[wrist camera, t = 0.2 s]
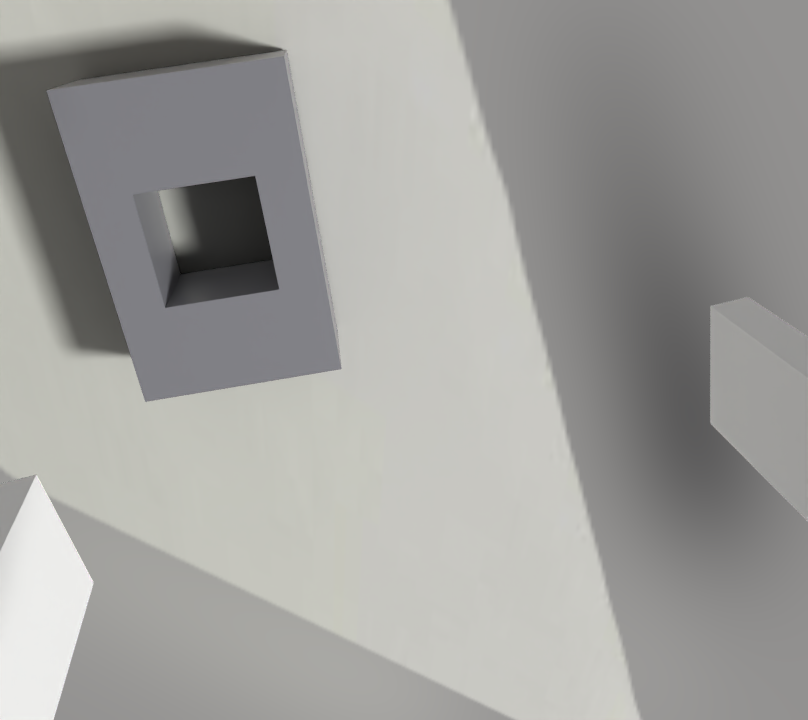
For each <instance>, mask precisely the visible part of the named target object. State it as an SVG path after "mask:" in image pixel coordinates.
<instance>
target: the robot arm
mask: <svg viewBox="0 0 808 720" xmlns="http://www.w3.org/2000/svg"><path fill="white" fill-rule="evenodd" d="M710 325H711V326H710V336H711V337H710V423H711V424H712V426H713V427H714V428H715V429H717V431H718V432H719V433H720V434H721V435H722V436H723V437H724V438H725V439H726V440H727V441H728V442H729V443H730V444H731V445H732V446H733V447H734V448H735V449H736V450H737V451H738V452H739V453H740V454H741V455H742V456H743V457H744V458H745V459H746V460H747V461H748V462H749V463H750V464H751V465H752V466H753V467H754V468H755V469H756V470H757V471H758V472H759V473H760V474H761V475H762V476H763V477H764V478H765V479H766V480H767V481H768V482H769V483H770V484H771V485H772V486H773V487H774V488H775V489H776V490H777V491H778V492H779V493H780V494H781V495H782V496H783V497H784V498H785V499H786V500H787V501H788V502H789V503H790V504H791V505H792V506H793V507H794V508H795V509H796V510H797V511H798V512H799V513H800V514H801V515H802V516H803V517H804V518H805V519H806V520H807V521H808V337H807V336H806V335H805V334H803V333H802V332H800V331H799V330H797V329H796V328H794V327H793V326H791V325H790V324H788V323H787V322H785V321H784V320H782V319H781V318H779V317H778V316H776V315H775V314H773V313H771V312H770V311H769V310H767V309H765V308H764V307H763V306H761V305H760V304H758V303H757V302H755V301H753V300H752V299H751V298H749V297H745V298H741V299H737V300H733V301H729V302H725V303H721V304H717V305H713V306H711V307H710ZM93 583H94V582H93V581H92V579H91V577H90V575H89V573H88V571H87V569H86V567H85V565H84V563H83V562H82V560H81V558H80V556H79V554H78V552H77V551H76V548H75V547H74V545H73V543H72V541H71V539H70V537H69V535H68V534H67V532H66V530H65V528H64V526H63V524H62V522H61V520H60V518H59V516H58V514H57V512H56V511H55V509H54V507H53V505H52V503H51V501H50V499H49V497H48V495H47V494H46V492H45V490H44V488H43V486H42V484H41V482H40V480H39V478H38V477H37V475H33V476H29V477H25V478H21V479H17V480H13V481H9V482H5V483H1V484H0V720H54V716H55V713H56V709H57V706H58V703H59V699H60V696H61V692H62V689H63V686H64V682H65V678H66V675H67V672H68V668H69V665H70V661H71V658H72V655H73V651H74V648H75V645H76V641H77V638H78V634H79V631H80V627H81V624H82V620H83V617H84V614H85V610H86V607H87V604H88V600H89V597H90V593H91V590H92V586H93Z"/></svg>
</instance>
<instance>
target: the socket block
mask: <svg viewBox="0 0 808 720" xmlns="http://www.w3.org/2000/svg"><path fill="white" fill-rule="evenodd" d="M46 91H47V95H48V98H49V101H50V104H51V107H52V110H53V113H54V117H55V120H56V123H57V126H58V129H59V132H60V135H61V138H62V142H63V145H64V148H65V151H66V154H67V157H68V160H69V164H70V167H71V170H72V173H73V176H74V179H75V182H76V186H77V189H78V192H79V195H80V198H81V201H82V204H83V208H84V211H85V214H86V217H87V220H88V223H89V226H90V229H91V233H92V236H93V239H94V242H95V245H96V248H97V251H98V255H99V258H100V261H101V264H102V267H103V270H104V273H105V277H106V280H107V283H108V286H109V289H110V292H111V295H112V299H113V302H114V305H115V308H116V311H117V314H118V317H119V321H120V324H121V327H122V330H123V333H124V336H125V339H126V342H127V346H128V349H129V352H130V355H131V358H132V361H133V364H134V368H135V371H136V374H137V377H138V380H139V383H140V386H141V390H142V393H143V396H144V399H145V402H147V401H153V400H159V399H165V398H171V397H177V396H183V395H189V394H195V393H201V392H207V391H213V390H219V389H225V388H231V387H237V386H243V385H249V384H255V383H261V382H267V381H273V380H279V379H285V378H291V377H297V376H303V375H309V374H315V373H321V372H327V371H333V370H339V369H341V360H340V350H339V340H338V330H337V325H336V319H335V314H334V308H333V303H332V297H331V292H330V286H329V281H328V275H327V270H326V264H325V259H324V253H323V248H322V242H321V237H320V231H319V225H318V220H317V214H316V209H315V203H314V198H313V192H312V187H311V181H310V176H309V170H308V165H307V159H306V154H305V148H304V143H303V137H302V131H301V126H300V120H299V115H298V109H297V104H296V98H295V93H294V87H293V82H292V76H291V71H290V65H289V60H288V54H287V50H282V51H275V52H268V53H261V54H254V55H247V56H240V57H233V58H226V59H219V60H212V61H205V62H198V63H191V64H185V65H178V66H171V67H164V68H157V69H150V70H143V71H136V72H129V73H122V74H115V75H108V76H101V77H94V78H87V79H80V80H76V81H73V82H70V83H67V84H64V85H61V86H58V87H55V88H52V89H49V90H46ZM251 176H255V178H256V182H257V187H258V192H259V196H260V201H261V206H262V210H263V215H264V220H265V225H266V229H267V234H268V239H269V243H270V248H271V253H272V258H273V260H268V261H261V262H255V263H249V264H242V265H236V266H230V267H223V268H217V269H211V270H204V271H198V272H192V273H186V274H180V270H179V266H178V263H177V259H176V255H175V252H174V248H173V244H172V241H171V237H170V233H169V230H168V226H167V222H166V219H165V215H164V211H163V208H162V204H161V200H160V196H159V193H158V191H159V190H166V189H172V188H179V187H185V186H192V185H198V184H205V183H211V182H218V181H225V180H231V179H238V178H244V177H251Z"/></svg>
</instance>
